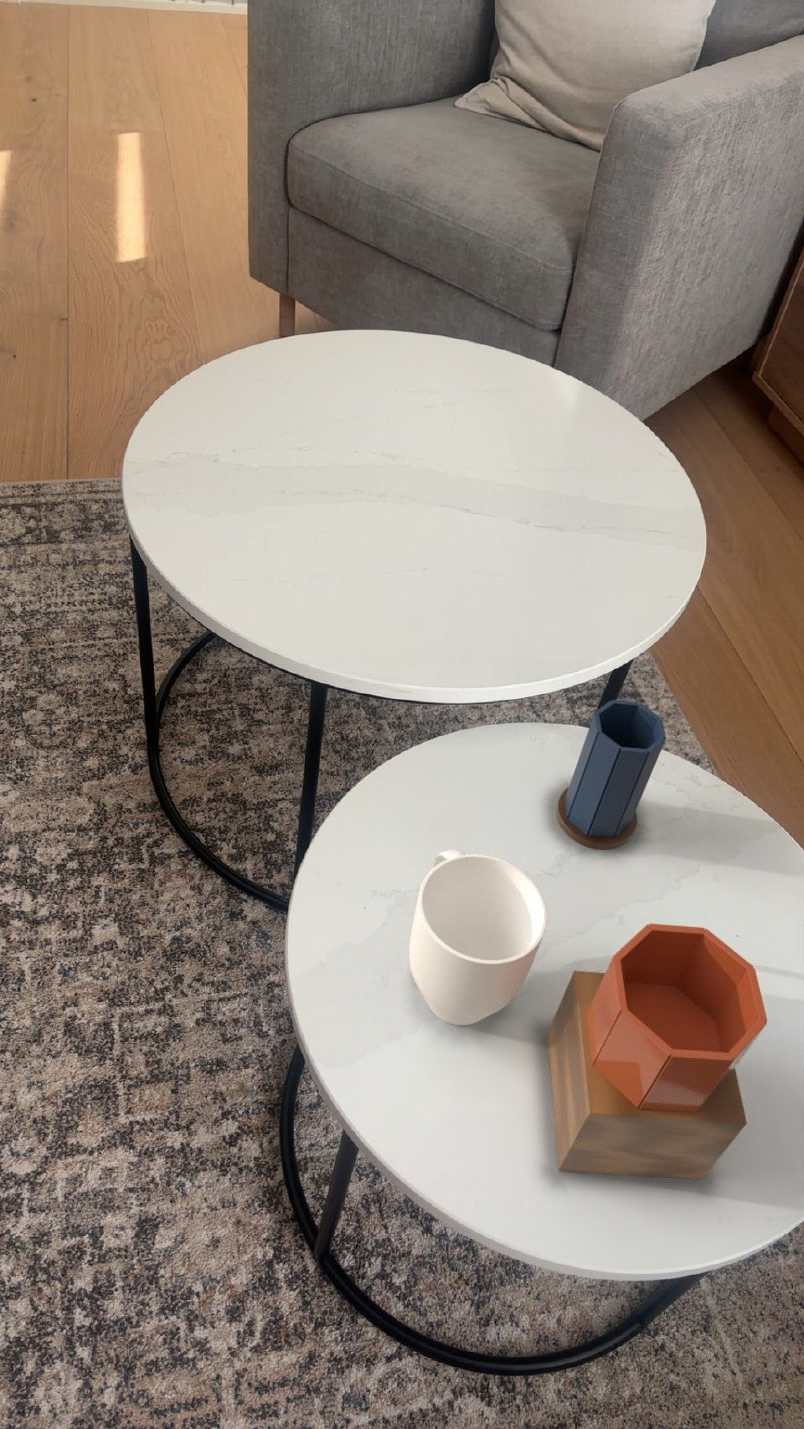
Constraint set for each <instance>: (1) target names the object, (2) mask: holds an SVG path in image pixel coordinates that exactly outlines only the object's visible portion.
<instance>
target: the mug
mask: <svg viewBox="0 0 804 1429" xmlns="http://www.w3.org/2000/svg"><path fill="white" fill-rule="evenodd" d="M547 910H548V908H547V905H546V902H545V899H544V896H543V894H542V892H541V890H540V889H539V887H538V886H537V884H535V882H534V881H533V879H532V878H530V877H529V876H528V875H527V874H526V873H525V872H524V871H523V870H521V869H520V868H519V867H517V866H515V865H514V864H512V863H510V862H508V861H506V860H504V859H501V858H499V857H495V856H490V855H486V854H478V853H477V854H475V853H474V854H473V853H470V854H465V852H463V850H460V849H447V850H444V851H441V852H440V853H438V855H437V856H436V857H435V860H434V865H433V868H432V869H431V870H430V871H428V873H427V875H426V876H425V877H424V879H423V881H422V883H421V885H420V887H419V892H418V896H417V902H416V905H415V911H414V917H413V921H412V926H411V932H410V937H409V947H408V948H409V949H408V955H409V956H408V958H409V960H408V961H409V966H410V971H411V974H412V978H413V980H414V982H415V984H416V986H417V988H418V990H419V992H420V994H421V995H422V997H423V998H424V1000H425V1002H426V1004H427V1005H428V1007H429V1009H430V1010H431V1011H432V1012H433V1014H434V1015H435V1016H436V1017H438V1018H439V1019H440V1020H442V1021H444V1022H446V1023H448V1024H451V1025H455V1026H470V1025H474V1024H477V1023H478V1022H480V1021H482V1020H483V1019H485V1018H488V1017H489V1016H492V1015H493V1014H495V1013H497V1012H498V1011H500V1010H502V1009H503V1008H505V1007H506V1006H507V1005H509V1003H511V1002H512V1001H513V999H514V998H515V997H516V996H517V994H518V993H519V992H520V990H521V988H522V987H523V985H524V983H525V982H526V979H527V977H528V975H529V973H530V970H531V968H532V966H533V963H534V961H535V959H536V955H537V953H538V951H539V948H540V945H541V943H542V941H543V938H544V936H545V933H546V930H547V926H548V911H547Z"/></svg>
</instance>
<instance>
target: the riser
mask: <svg viewBox="0 0 804 1429" xmlns="http://www.w3.org/2000/svg"><path fill="white" fill-rule="evenodd" d="M605 973H606V972H596V971H595V972H594V971H583V970H574V971H573V972H572V975H571V977H570V980H569V981H568V984H567V986H566V988H565V991H564V993H563V996H562V998H561V1000H560V1003H559V1005H558V1007H557V1009H556V1011H555V1014H554V1017H553V1018H552V1022H551V1023H550V1026H549V1028H548V1030H547V1033H546V1042H547V1054H548V1064H549V1065H548V1066H549V1077H550V1078H549V1079H550V1089H551V1090H550V1091H551V1101H552V1112H553V1113H552V1114H553V1126H554V1136H555V1137H554V1138H555V1148H556V1161H557V1170H558V1171H561V1172H574V1173H577V1172H578V1173H592V1174H593V1173H594V1174H608V1175H627V1176H641V1177H642V1176H644V1177H658V1178H660V1177H661V1178H674V1179H675V1178H679V1179H692V1180H693V1179H694V1180H703V1179H704V1178H705V1176H706V1175H707V1174H708V1173H709V1171H710V1170H711V1169H712V1168H713V1166H714V1165H715V1164H716V1163H717V1162H718V1160H719V1159H720V1158H721V1156H723V1154H724V1153H725V1152H726V1150H727V1149H728V1148H729V1147H730V1145H731V1144H732V1143H733V1141H734V1140H735V1139H736V1138H737V1137H738V1135H739V1134H740V1133H741V1132H742V1130H743V1129H744V1128H745V1127H746V1125H747V1119H746V1118H747V1117H746V1114H745V1113H746V1112H745V1108H744V1104H743V1100H742V1095H741V1090H740V1085H739V1080H738V1075H737V1071H736V1067H735V1068H734V1070H733V1071H732V1073H731V1074H730V1075H729V1077H728V1078H727V1079H726V1080H725V1081H724V1082H723V1083H722V1085H721V1086H720V1087H719V1088H718V1089H717V1090H716V1091H715V1093H714V1094H713V1095H712V1096H711V1097H710V1098H709V1099H708V1101H707V1102H706V1103H705V1104H704V1105H703V1106H702V1107H701V1108H700V1110H699V1111H696V1112H681V1111H666V1110H650V1109H639V1107H638V1108H637V1107H636V1106H635V1105H634V1104H633V1103H632V1102H630V1101H629V1100H628V1099H627V1098H626V1097H625V1096H624V1095H623V1094H622V1093H621V1092H620V1091H619V1090H618V1089H616V1088H615V1087H614V1086H613V1085H612V1084H611V1083H610V1082H609V1081H608V1080H607V1079H606V1078H605V1077H604V1076H602V1075H601V1074H600V1073H599V1072H598V1071H597V1070H596V1069H595V1068H594V1067H593V1066H594V1065H592V1060H591V1051H590V1043H589V1034H588V1025H587V1016H586V1014H587V1011H588V1009H589V1007H590V1004H591V1002H592V1000H593V998H594V996H595V994H596V992H597V990H598V987H599V985H600V983H601V981H602V979H603V977H604V975H605Z"/></svg>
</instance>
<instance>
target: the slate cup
mask: <svg viewBox="0 0 804 1429" xmlns="http://www.w3.org/2000/svg"><path fill="white" fill-rule="evenodd" d="M666 739H667V735H666V731H665V726H664V722H663V719H661V716H659V715H658V714H656V713H655V712H654V711H652V710H651V709H650V708H648V707H647V706H645V705H644V704H643V703H641V702H640V703H639V702H638V701H631V700H618V699H613V700H610V701H608V702H606V703H605V704H604V705H602V706H601V707H599V708H598V709H597V710H595V711H594V713H593V716H592V719H591V722H590V725H589V728H588V731H587V734H586V737H585V739H584V742H583V744H582V748H581V750H580V754H579V757H578V759H577V763H576V765H575V769H574V772H573V775H572V777H571V780H570V783H569V786H568V787H569V789H568V791H567V794H566V797H565V808H566V817H567V819H568V821H569V822H570V823H572V824H573V825H574V826H575V827H577V828H578V829H579V830H580V831H582V832H583V833H584V834H585V835H587V834H589V836H591V837H603V838H613V837H616V836H618V835H619V834H620V833H621V832H622V831H624V830H625V829H626V828H627V827H628V826H629V825H630V823H631V821H632V818H633V816H634V813H635V811H636V812H637V808H638V807H639V804H640V802H641V799H642V797H643V794H644V793H645V790H646V787H647V786H648V782H649V780H650V778H651V776H652V773H653V771H654V768H655V767H656V763H657V761H658V760H659V757H660V754H661V752H662V750H663V747H664V745H665V743H666V741H667V740H666Z"/></svg>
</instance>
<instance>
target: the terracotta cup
mask: <svg viewBox="0 0 804 1429" xmlns="http://www.w3.org/2000/svg"><path fill="white" fill-rule="evenodd" d="M604 973H605V975H604V977H603V979H602V981H601V983H600V985H599V987H598V990H597V992H596V994H595V996H594V998H593V1000H592V1002H591V1004H590V1007H589V1009H588V1011H587V1014H586V1016H587V1025H588V1034H589V1043H590V1051H591V1060H592V1065H594V1066H593V1067H594V1068H595V1069H596V1070H597V1071H598V1072H599V1073H600V1074H601V1075H602V1076H604V1077H605V1078H606V1079H607V1080H608V1081H609V1082H610V1083H611V1084H612V1085H613V1086H614V1087H615V1088H616V1089H618V1090H619V1091H620V1092H621V1093H622V1094H623V1095H624V1096H625V1097H626V1098H627V1099H628V1100H629V1101H630V1102H632V1103H633V1104H634V1105H635V1106H636V1107H637V1108H638V1107H639V1109H650V1110H666V1111H681V1112H696V1111H699V1110H700V1108H701V1107H702V1106H703V1105H704V1104H705V1103H706V1102H707V1101H708V1099H709V1098H710V1097H711V1096H712V1095H713V1094H714V1093H715V1091H716V1090H717V1089H718V1088H719V1087H720V1086H721V1085H722V1083H723V1082H724V1081H725V1080H726V1079H727V1078H728V1077H729V1075H730V1074H731V1073H732V1071H733V1070H734V1068H735V1069H736V1068H737V1066H738V1064H739V1063H740V1062H741V1061H742V1059H743V1058H744V1056H745V1055H746V1053H747V1052H748V1050H749V1049H750V1048H751V1046H752V1045H753V1043H754V1042H755V1041H756V1040H757V1038H758V1037H759V1035H760V1034H761V1033H762V1031H763V1030H764V1029H765V1027H766V1026H767V1024H768V1017H767V1014H766V1010H765V1004H764V1001H763V997H762V993H761V992H762V991H761V987H760V984H759V979H758V976H757V970H756V968H755V967H754V965H753V964H751V963H750V962H749V961H748V960H746V959H745V957H743V956H741V954H739V953H738V952H736V951H735V950H734V949H732V948H731V947H730V946H729V945H727V943H726V942H724V941H723V940H721V939H720V938H719V937H718V936H716V934H714V933H713V932H712V931H710V930H709V929H708V928H705V927H699V926H688V925H687V926H686V925H674V924H659V923H648V924H646V925H645V926H643V927H642V928H641V930H639V931H638V932H637V933H636V934H635V935H634V936H633V937H632V938H631V939H630V940H629V941H627V942H626V943H625V944H624V945H623V946H622V947H621V948H620V949H619V950H618V951H617V952H616V953H614V954H613V956H612V958H611V960H610V962H609V965H608V966H607V969H606V970H605V972H604Z"/></svg>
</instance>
